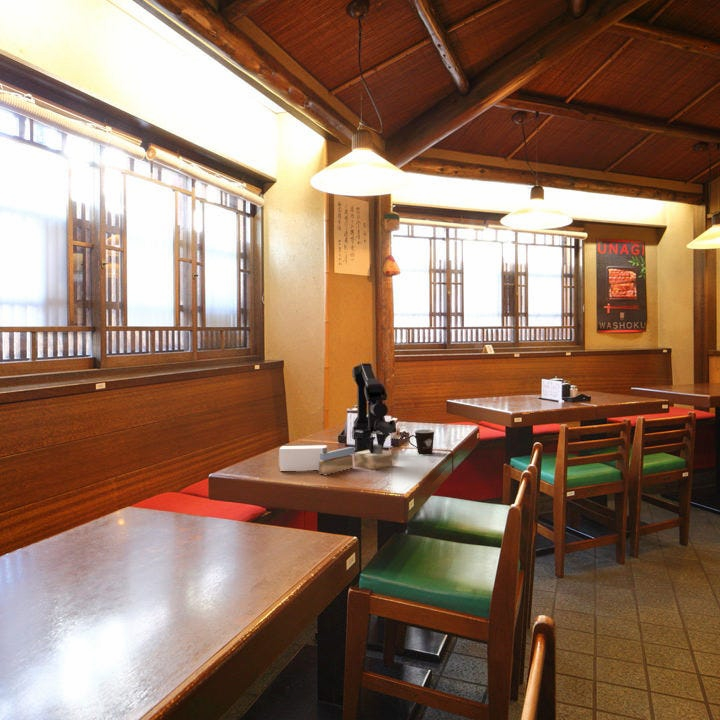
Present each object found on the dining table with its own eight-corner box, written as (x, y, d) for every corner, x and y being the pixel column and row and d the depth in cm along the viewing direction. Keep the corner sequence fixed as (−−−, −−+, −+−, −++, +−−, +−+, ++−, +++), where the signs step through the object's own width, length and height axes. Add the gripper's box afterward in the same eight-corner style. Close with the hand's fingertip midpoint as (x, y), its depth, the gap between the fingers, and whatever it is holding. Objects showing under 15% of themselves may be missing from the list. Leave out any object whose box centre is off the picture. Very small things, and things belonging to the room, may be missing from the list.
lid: (354, 456, 228) (354, 444, 228) (371, 452, 235) (371, 441, 235) (374, 460, 220) (374, 448, 220) (391, 456, 226) (391, 444, 226)
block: (320, 459, 216) (319, 448, 216) (351, 452, 227) (350, 441, 226) (323, 460, 214) (323, 448, 214) (354, 453, 225) (354, 442, 225)
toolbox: (354, 465, 229) (354, 455, 228) (372, 461, 235) (371, 450, 235) (374, 470, 220) (374, 459, 220) (392, 465, 226) (392, 454, 226)
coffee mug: (434, 451, 252) (433, 429, 251) (435, 455, 243) (434, 432, 243) (408, 451, 253) (408, 429, 252) (408, 455, 244) (407, 433, 244)
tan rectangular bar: (319, 474, 216) (318, 461, 216) (348, 467, 226) (347, 454, 226) (323, 475, 214) (323, 462, 214) (352, 468, 224) (352, 455, 224)
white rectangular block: (328, 468, 227) (327, 445, 226) (326, 471, 221) (325, 448, 221) (279, 469, 228) (279, 446, 228) (276, 472, 222) (276, 449, 222)
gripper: (372, 418, 213) (373, 459, 214) (405, 412, 226) (406, 451, 226) (352, 416, 221) (354, 455, 222) (385, 410, 234) (387, 447, 234)
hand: (376, 452), depth 226 cm, fingers open, 5 cm apart
